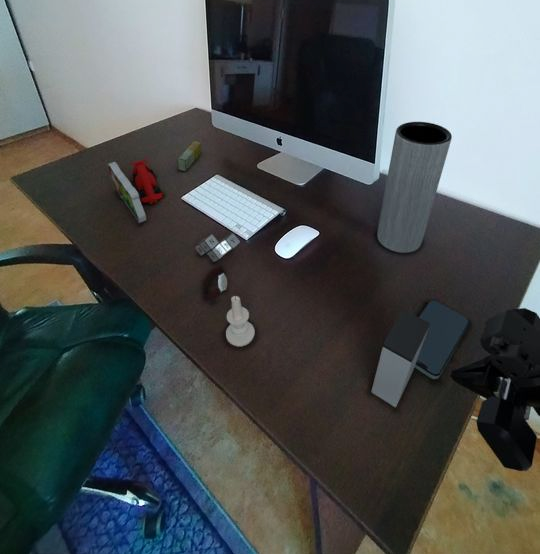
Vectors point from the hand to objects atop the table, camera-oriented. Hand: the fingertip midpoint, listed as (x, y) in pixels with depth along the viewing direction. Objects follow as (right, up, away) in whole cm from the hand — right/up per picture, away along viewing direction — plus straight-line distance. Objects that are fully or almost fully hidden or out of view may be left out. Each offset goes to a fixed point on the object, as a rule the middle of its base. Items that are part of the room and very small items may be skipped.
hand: (452, 376), depth 50 cm
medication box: (-50, +37, +69) cm, 93 cm away
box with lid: (-5, -5, +9) cm, 12 cm away
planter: (+5, +15, +36) cm, 40 cm away
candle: (-30, 0, +17) cm, 35 cm away
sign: (-63, +23, +51) cm, 84 cm away
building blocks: (-37, +12, +34) cm, 52 cm away
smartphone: (+4, -1, +15) cm, 16 cm away
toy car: (-60, +28, +57) cm, 87 cm away
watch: (-36, +6, +26) cm, 45 cm away
